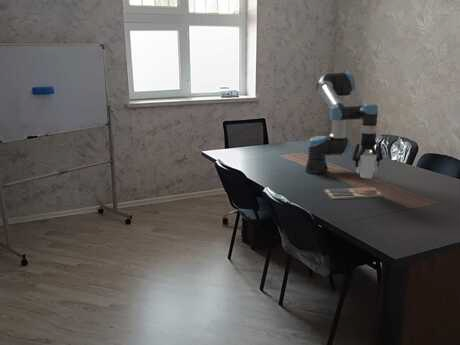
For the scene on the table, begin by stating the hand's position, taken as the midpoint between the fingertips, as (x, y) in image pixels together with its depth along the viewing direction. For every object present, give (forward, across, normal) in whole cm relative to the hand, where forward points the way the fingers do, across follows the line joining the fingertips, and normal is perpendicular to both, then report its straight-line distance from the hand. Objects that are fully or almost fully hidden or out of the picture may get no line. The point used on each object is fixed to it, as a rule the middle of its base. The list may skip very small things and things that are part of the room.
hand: (366, 172), depth 242 cm
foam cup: (+3, 0, 0) cm, 3 cm away
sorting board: (+12, -7, 0) cm, 14 cm away
